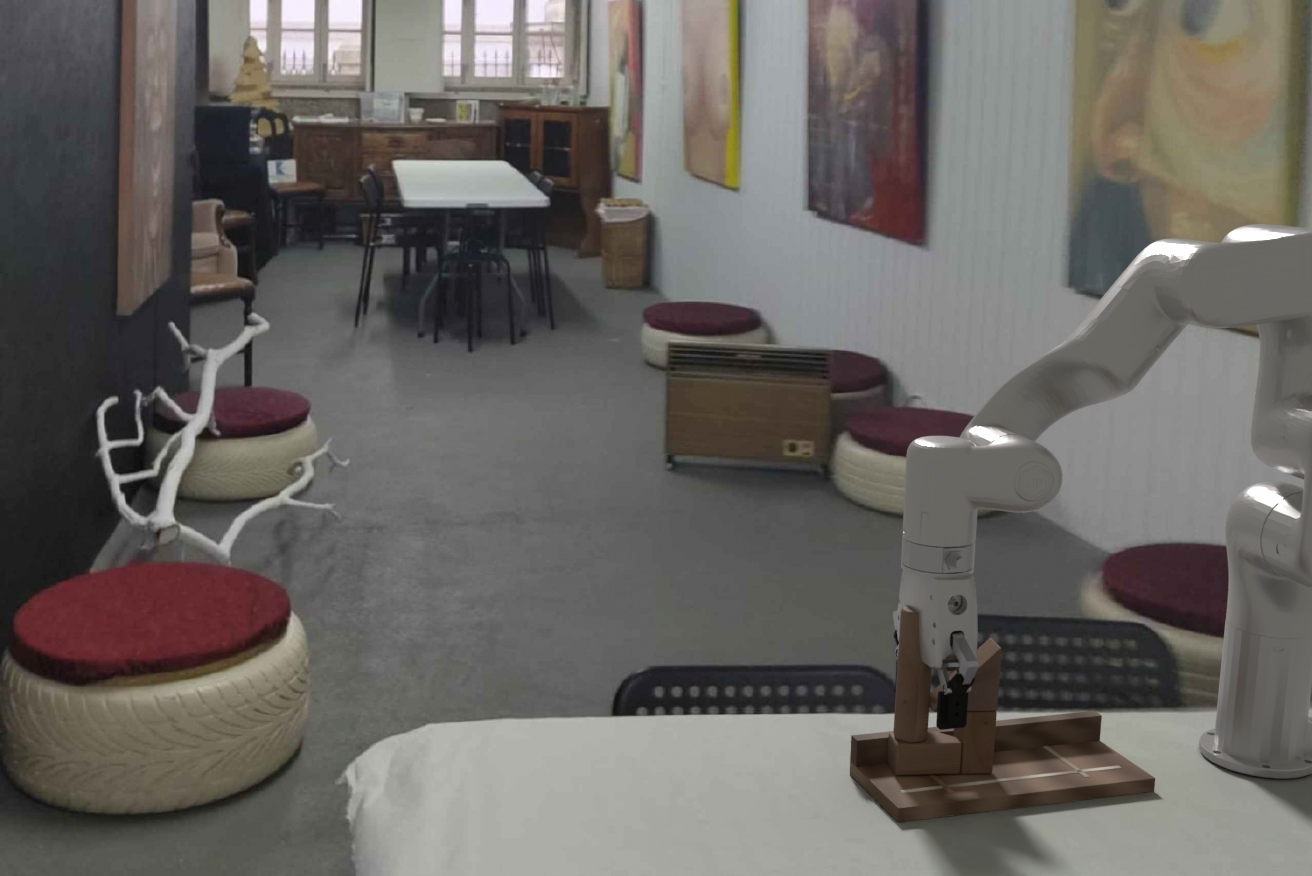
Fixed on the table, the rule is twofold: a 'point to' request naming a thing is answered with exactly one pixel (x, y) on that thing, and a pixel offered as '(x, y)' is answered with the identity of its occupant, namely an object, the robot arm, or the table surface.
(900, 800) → the marking board
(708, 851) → the table surface
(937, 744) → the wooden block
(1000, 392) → the robot arm
